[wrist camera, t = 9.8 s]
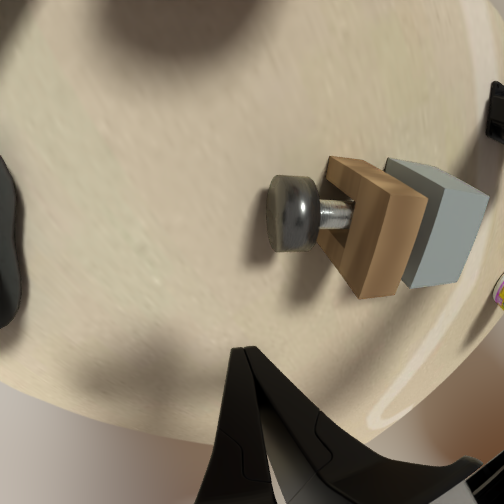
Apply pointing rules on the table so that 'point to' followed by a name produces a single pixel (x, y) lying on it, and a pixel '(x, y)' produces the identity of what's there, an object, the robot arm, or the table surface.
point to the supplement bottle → (499, 292)
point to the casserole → (8, 250)
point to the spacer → (372, 227)
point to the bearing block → (440, 223)
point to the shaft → (301, 213)
